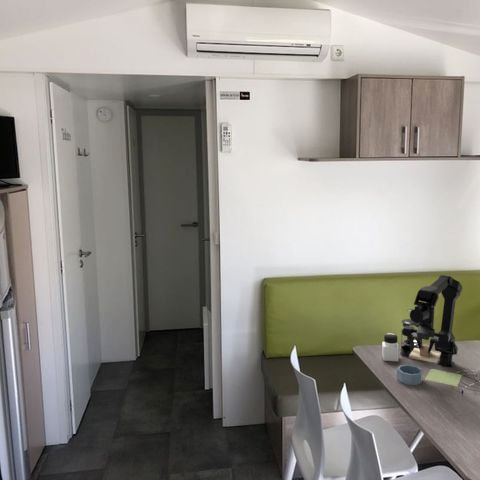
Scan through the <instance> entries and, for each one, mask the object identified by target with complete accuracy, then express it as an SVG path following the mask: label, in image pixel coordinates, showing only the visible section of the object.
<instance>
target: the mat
mask: <svg viewBox="0 0 480 480" xmlns="http://www.w3.org/2000/svg"><path fill="white" fill-rule="evenodd" d="M462 376H463V374H459V373H454V372H450V371H445V370H440V369H435V368H434V369H433V368H430V370H429V372H428V374H427V375H426V376H425V378H424V380H425V381H429V382H434V383H438V384H445V385H448V386H452V387H453V386H454V387H458V386H459V383H460V381H461V378H462Z"/></svg>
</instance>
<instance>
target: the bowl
mask: <svg viewBox="0 0 480 480" xmlns="http://www.w3.org/2000/svg"><path fill="white" fill-rule="evenodd" d="M396 379H397V381H398V382H400V383H402V384H404V385H407V386H408V385H409V386H418V385H420V384H423V380H424V369H423V368H421V367H419V366H417V365H412V364H402V365H399V366H398V367H397V369H396Z"/></svg>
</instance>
